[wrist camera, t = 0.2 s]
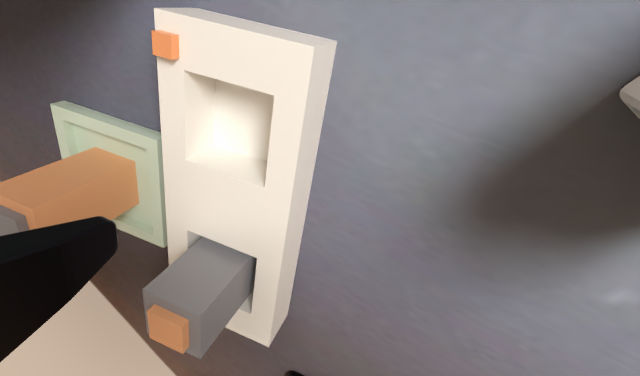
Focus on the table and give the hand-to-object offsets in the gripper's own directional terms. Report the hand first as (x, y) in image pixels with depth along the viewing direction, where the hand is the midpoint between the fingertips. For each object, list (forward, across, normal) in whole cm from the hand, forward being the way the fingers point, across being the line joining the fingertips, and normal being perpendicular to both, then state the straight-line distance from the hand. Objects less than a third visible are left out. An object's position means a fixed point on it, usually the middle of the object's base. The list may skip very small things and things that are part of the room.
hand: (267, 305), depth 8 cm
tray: (+14, +20, +11) cm, 27 cm away
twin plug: (+14, +8, +13) cm, 20 cm away
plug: (+14, +20, +11) cm, 27 cm away
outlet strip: (+14, +8, +7) cm, 18 cm away
